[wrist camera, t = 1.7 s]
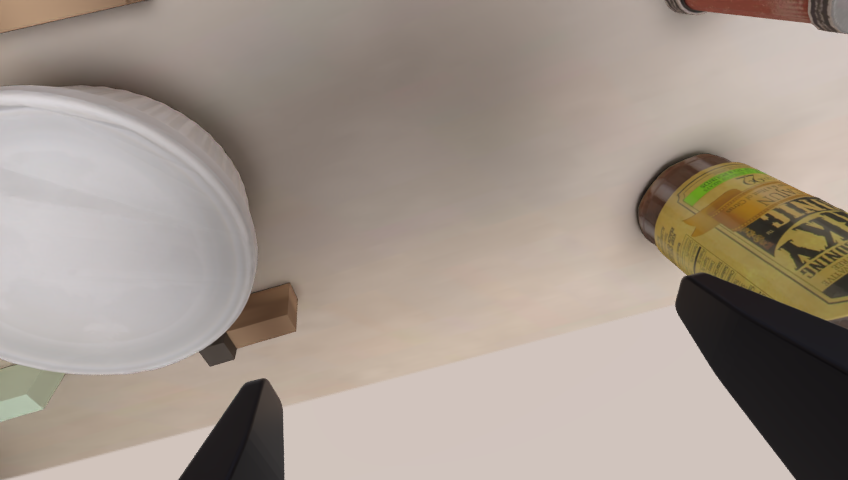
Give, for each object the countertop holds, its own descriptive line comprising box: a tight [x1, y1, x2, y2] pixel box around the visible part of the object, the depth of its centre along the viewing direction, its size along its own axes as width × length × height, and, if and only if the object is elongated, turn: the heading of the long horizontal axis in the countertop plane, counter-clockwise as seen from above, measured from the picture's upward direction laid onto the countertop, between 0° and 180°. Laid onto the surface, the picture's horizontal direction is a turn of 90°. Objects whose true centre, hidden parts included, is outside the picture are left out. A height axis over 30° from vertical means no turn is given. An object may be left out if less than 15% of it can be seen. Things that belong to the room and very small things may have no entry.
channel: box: [0, 0, 298, 366], centre depth 17 cm, size 12×16×3 cm
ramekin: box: [0, 85, 258, 375], centre depth 17 cm, size 11×11×5 cm
